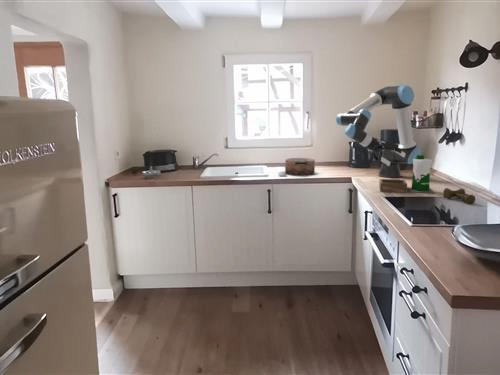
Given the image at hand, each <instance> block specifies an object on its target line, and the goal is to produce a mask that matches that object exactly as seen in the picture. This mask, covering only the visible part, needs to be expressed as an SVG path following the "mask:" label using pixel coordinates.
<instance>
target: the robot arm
mask: <svg viewBox="0 0 500 375" xmlns="http://www.w3.org/2000/svg"><path fill="white" fill-rule="evenodd" d="M414 98H415V93H414V89H413V88H412V87H411V86H410V85H403V84H402V85H401V84H400V85H393V86H390V85H389V86H384V87H382V88H380V89H378V90H377V91H375V92H373V93H371V95H370V96H369V97H368V98H366V99H365V100H363V101H362V102H360V103H359V104H357V105H356V106H354V107H352V108H351V109H349V110H348V111H346V112H345V113H344V112H342V113H338V114H337V116H336V118H335V120H336V124H337V125H338V126H343V127H345V126H347V127H346V128H345V130H344V135H345V136H347V137H348V138H349V139H351V140H352V141H355V143H358V144H359V145H360V146H362V147H363V148H364V147H365V149H367V150H368V152H367V153H368V154H370V155H371V157H372V158H373V160H374V161H375V162H376V163H377V162H381V165H380V169H379V172H378V177H381V178H390V177H392V178H393V177H395V178H401V177H400V176H401V174H402V173H401V169H400V164H408V165H410V164H411V165H413V159H416V157H417V155H422V149H421V148H420V147H419V146H417V142H415V141H414V138H413V137H414V136H413V128H412V122H411V121H412V120H411V119H412V118H411V113H410V107H411V106H412V103H413V101H414ZM384 105H391V107H392V110H394V112H395V118H396V119H395V120H396V125H397V132H398V140H399V143H393V142H390V141H386V140H384V139H382V140H381V141H380V142H379V141H378V139H377V138H375V137H373V135H371V134H369V133H368V132H366V131H365V129H367V128H366V127H367V125H368V123H369V122H370V119H371V117H372V113H371V111H372V110H373V109H375V108H379V107H381V106H384ZM380 152H381V153H380ZM381 154H382V155H381ZM392 178H391V179H392Z"/></svg>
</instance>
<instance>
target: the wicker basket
mask: <svg viewBox="0 0 500 375" xmlns="http://www.w3.org/2000/svg"><path fill="white" fill-rule="evenodd" d="M284 163H285V165H284V166H285V167H284V168H285V169H284V170H285V172H286V173H285V174H286V175H291V176H310V175H309V174H311V175H314V174H315V171H316V169H315V167H316V164H315V163H316V159H314V158H311V157H290V158H289V157H288V158H285V162H284ZM313 173H314V174H313Z"/></svg>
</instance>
